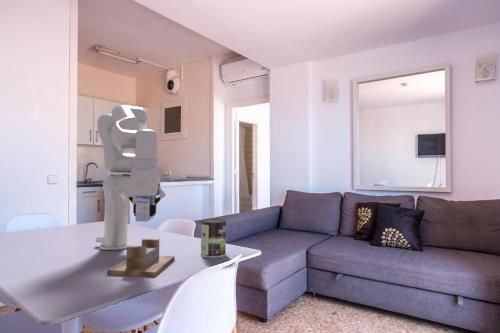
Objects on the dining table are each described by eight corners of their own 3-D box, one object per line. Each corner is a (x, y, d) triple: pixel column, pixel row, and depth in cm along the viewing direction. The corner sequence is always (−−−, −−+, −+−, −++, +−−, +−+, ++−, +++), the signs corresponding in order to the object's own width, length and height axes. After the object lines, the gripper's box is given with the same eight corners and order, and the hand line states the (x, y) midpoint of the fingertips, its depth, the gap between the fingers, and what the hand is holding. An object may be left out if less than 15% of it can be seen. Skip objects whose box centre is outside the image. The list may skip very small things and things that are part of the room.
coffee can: (229, 253, 136) (230, 219, 136) (219, 259, 126) (219, 223, 126) (207, 250, 140) (208, 218, 140) (195, 256, 130) (196, 221, 130)
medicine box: (140, 218, 119) (141, 194, 119) (153, 218, 119) (153, 194, 119) (135, 221, 111) (135, 196, 111) (148, 221, 111) (148, 196, 111)
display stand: (107, 274, 106) (107, 248, 106) (134, 258, 125) (134, 236, 126) (154, 276, 104) (155, 250, 104) (174, 260, 124) (175, 237, 124)
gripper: (117, 164, 112) (116, 216, 112) (165, 164, 111) (164, 217, 111) (127, 164, 120) (126, 213, 120) (172, 165, 118) (171, 215, 118)
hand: (144, 215), depth 115 cm, fingers closed on medicine box, 5 cm apart
